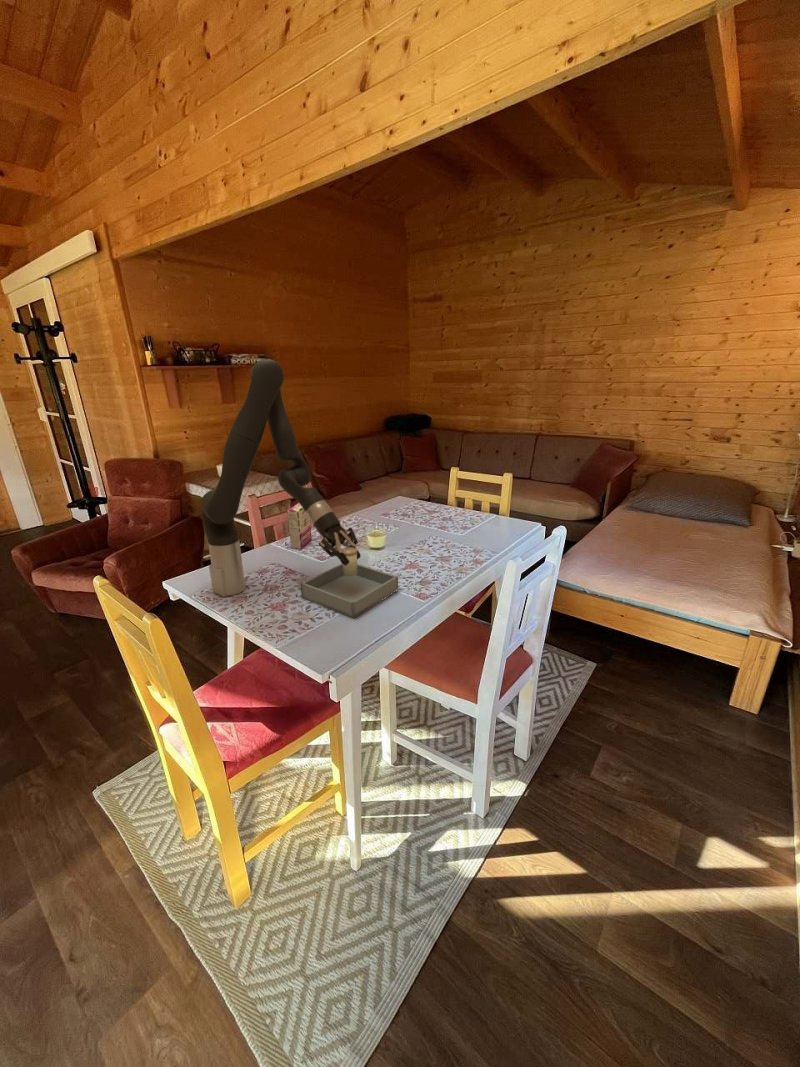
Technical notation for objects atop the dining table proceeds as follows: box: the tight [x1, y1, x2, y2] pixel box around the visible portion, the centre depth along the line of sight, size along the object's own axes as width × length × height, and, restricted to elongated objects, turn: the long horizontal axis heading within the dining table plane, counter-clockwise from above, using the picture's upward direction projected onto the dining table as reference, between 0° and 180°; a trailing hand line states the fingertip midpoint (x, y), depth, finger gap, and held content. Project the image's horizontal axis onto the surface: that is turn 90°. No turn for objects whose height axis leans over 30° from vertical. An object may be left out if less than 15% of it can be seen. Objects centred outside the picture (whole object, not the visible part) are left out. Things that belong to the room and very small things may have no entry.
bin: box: [300, 563, 399, 619], centre depth 144 cm, size 22×22×5 cm
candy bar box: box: [287, 502, 313, 550], centre depth 184 cm, size 11×5×16 cm, turn 168°
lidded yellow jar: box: [341, 547, 358, 576], centre depth 142 cm, size 5×5×8 cm
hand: (353, 560), depth 141 cm, fingers closed on lidded yellow jar, 4 cm apart
